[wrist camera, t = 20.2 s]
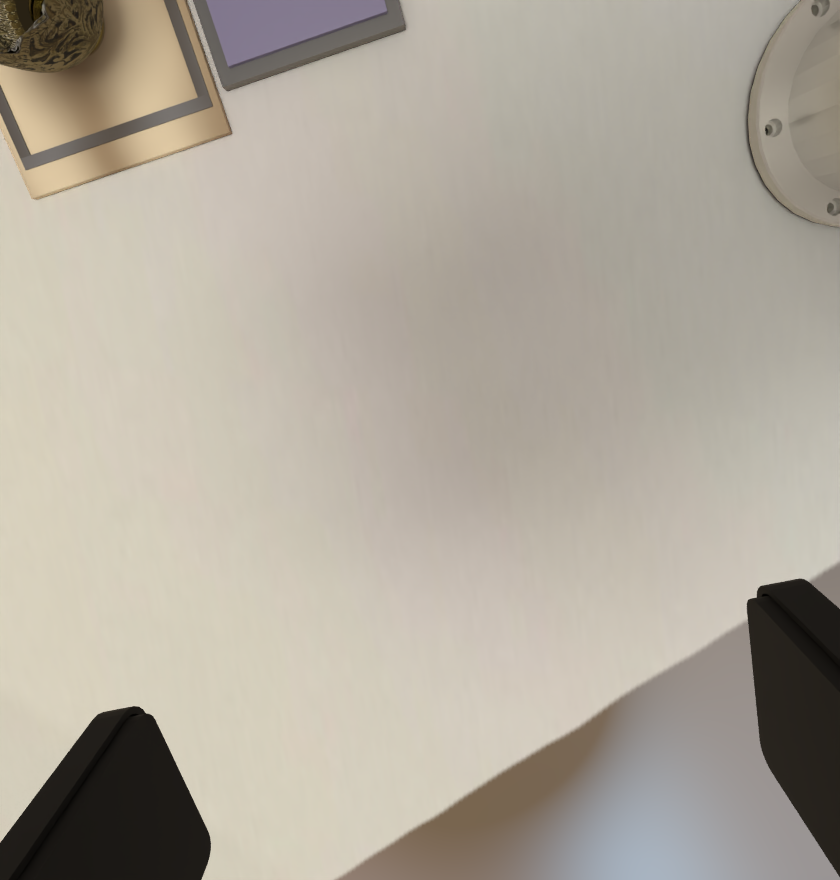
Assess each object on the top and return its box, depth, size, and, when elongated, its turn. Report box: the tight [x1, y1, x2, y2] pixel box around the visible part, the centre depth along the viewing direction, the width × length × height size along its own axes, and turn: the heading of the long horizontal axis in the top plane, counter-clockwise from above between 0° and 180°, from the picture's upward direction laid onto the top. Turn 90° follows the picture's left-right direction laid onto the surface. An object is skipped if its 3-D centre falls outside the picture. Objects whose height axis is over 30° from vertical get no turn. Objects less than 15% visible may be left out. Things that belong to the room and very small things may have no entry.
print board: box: [0, 0, 232, 199], centre depth 30 cm, size 12×14×1 cm
